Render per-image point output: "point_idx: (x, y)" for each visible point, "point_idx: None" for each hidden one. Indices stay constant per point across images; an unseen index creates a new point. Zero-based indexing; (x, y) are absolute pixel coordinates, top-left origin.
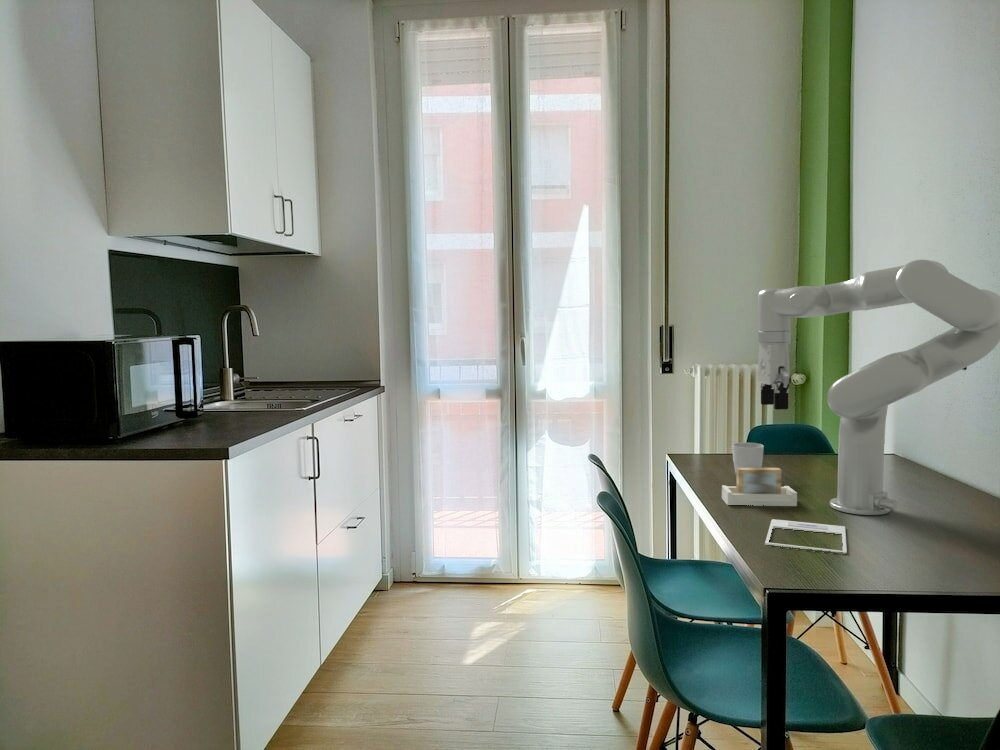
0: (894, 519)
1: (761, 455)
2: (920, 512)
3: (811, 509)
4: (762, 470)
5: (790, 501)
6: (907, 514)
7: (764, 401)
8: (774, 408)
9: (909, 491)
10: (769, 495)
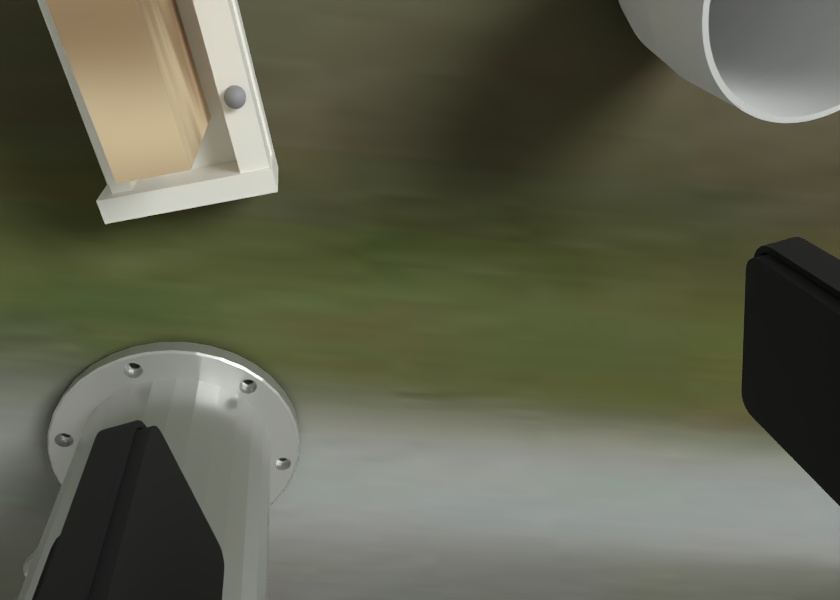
0: None
1: (702, 87)
2: None
3: (82, 258)
4: (61, 39)
5: (104, 173)
6: None
7: (777, 308)
8: (137, 420)
9: (505, 587)
10: (61, 59)
